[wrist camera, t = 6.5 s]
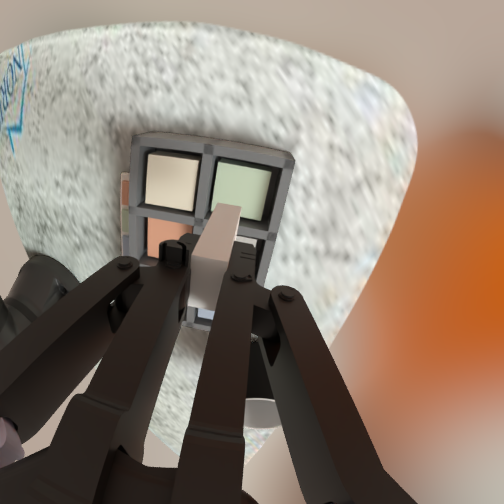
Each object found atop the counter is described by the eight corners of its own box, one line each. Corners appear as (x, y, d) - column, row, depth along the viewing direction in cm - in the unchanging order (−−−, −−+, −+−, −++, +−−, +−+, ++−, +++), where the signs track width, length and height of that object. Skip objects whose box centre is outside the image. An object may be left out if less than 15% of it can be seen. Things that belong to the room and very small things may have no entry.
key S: (153, 196, 25) (145, 203, 23) (157, 150, 23) (148, 154, 21) (197, 203, 25) (192, 211, 23) (204, 156, 23) (198, 160, 21)
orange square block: (154, 246, 28) (147, 255, 27) (155, 207, 26) (148, 215, 25) (193, 254, 29) (189, 264, 27) (198, 215, 26) (192, 223, 25)
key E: (215, 203, 26) (210, 211, 24) (222, 158, 24) (218, 162, 22) (261, 212, 26) (260, 220, 24) (271, 167, 24) (271, 172, 22)
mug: (229, 332, 36) (218, 395, 27) (297, 335, 35) (301, 399, 26) (232, 381, 41) (224, 434, 32) (286, 384, 41) (287, 438, 32)
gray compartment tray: (126, 286, 33) (112, 307, 29) (126, 129, 24) (103, 134, 20) (251, 313, 34) (249, 339, 30) (291, 153, 24) (295, 160, 20)
